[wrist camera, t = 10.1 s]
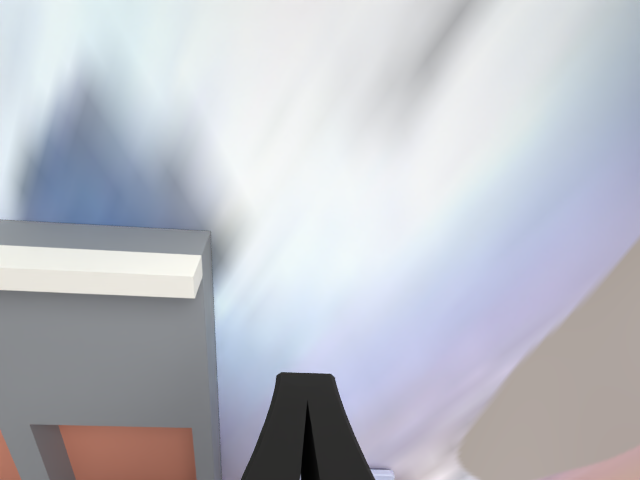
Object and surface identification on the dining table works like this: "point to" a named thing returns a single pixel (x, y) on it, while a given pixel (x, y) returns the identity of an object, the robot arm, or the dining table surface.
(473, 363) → the dining table surface
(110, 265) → the board
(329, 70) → the dining table surface
